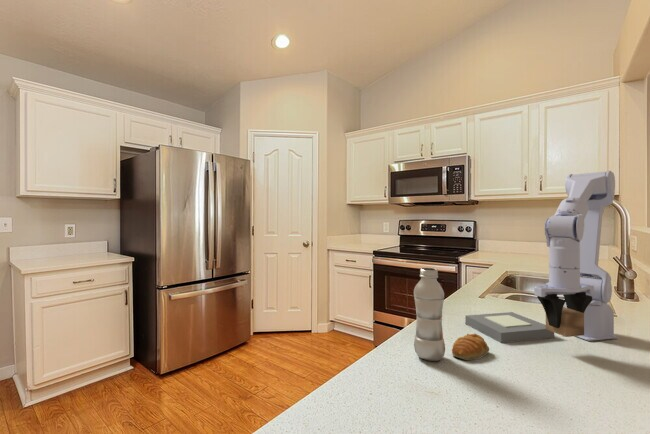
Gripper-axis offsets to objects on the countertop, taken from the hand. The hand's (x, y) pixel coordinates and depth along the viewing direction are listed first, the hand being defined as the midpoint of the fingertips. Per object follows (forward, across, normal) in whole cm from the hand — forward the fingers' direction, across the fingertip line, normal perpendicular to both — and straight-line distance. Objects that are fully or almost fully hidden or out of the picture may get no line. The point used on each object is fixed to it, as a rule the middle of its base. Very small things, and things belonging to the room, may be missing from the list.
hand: (564, 325), depth 72 cm
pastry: (+7, +21, -4) cm, 23 cm away
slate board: (+6, +2, -15) cm, 16 cm away
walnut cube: (+2, 0, 0) cm, 2 cm away
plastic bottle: (+6, +32, -4) cm, 33 cm away
